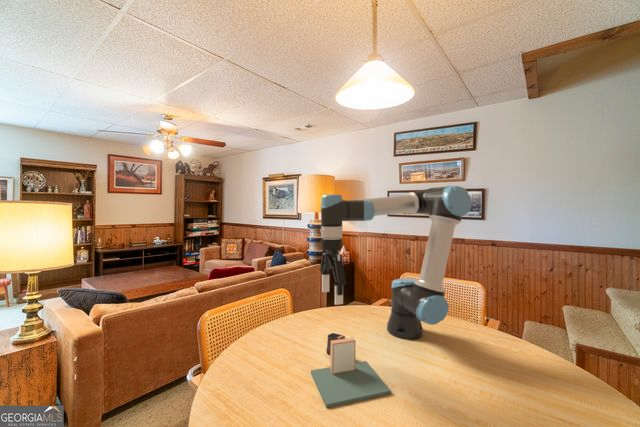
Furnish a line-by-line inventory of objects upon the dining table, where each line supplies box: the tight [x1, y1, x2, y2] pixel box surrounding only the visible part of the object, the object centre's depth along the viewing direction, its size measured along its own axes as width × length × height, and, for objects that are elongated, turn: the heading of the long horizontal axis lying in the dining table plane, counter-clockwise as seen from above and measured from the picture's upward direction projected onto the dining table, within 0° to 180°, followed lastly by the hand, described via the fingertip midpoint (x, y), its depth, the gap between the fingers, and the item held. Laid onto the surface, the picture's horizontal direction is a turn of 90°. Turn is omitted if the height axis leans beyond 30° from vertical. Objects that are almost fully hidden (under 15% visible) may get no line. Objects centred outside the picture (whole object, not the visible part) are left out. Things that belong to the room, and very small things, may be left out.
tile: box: [329, 337, 357, 374], centre depth 89 cm, size 8×2×10 cm, turn 107°
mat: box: [310, 360, 392, 409], centre depth 84 cm, size 20×16×1 cm
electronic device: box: [326, 332, 346, 355], centre depth 100 cm, size 4×10×8 cm, turn 46°
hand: (331, 297), depth 97 cm, fingers open, 13 cm apart
